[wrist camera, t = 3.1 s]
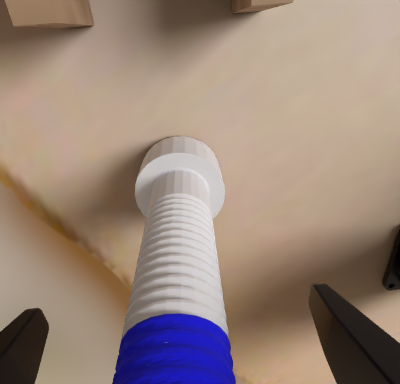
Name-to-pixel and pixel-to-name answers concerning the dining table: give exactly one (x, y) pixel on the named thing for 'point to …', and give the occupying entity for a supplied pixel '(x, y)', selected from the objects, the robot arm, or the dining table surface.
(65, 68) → the dining table surface
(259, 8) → the slot bracket
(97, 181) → the dining table surface
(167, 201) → the bolt
